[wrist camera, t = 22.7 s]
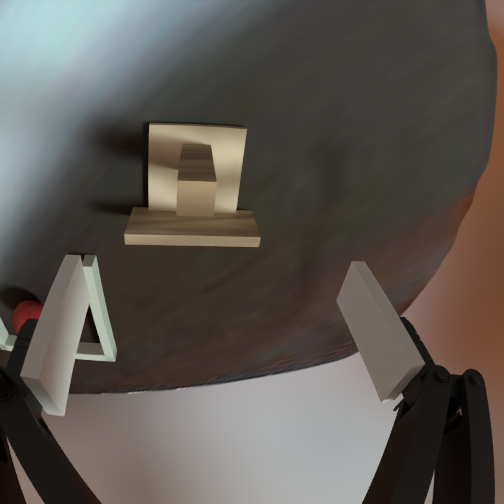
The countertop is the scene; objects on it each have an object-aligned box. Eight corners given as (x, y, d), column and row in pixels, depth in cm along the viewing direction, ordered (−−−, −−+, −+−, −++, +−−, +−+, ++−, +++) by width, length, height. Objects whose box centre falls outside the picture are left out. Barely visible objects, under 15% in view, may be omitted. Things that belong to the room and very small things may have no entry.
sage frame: (-34, 251, 34) (-41, 261, 32) (95, 254, 38) (91, 266, 36) (5, 339, 45) (1, 349, 43) (116, 349, 49) (115, 361, 47)
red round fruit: (40, 285, 39) (23, 325, 33) (60, 312, 43) (47, 352, 37) (15, 293, 39) (-3, 331, 33) (35, 318, 43) (21, 356, 36)
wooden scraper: (132, 122, 30) (106, 155, 21) (263, 128, 33) (291, 162, 24) (133, 215, 36) (117, 275, 28) (250, 218, 39) (268, 277, 31)
